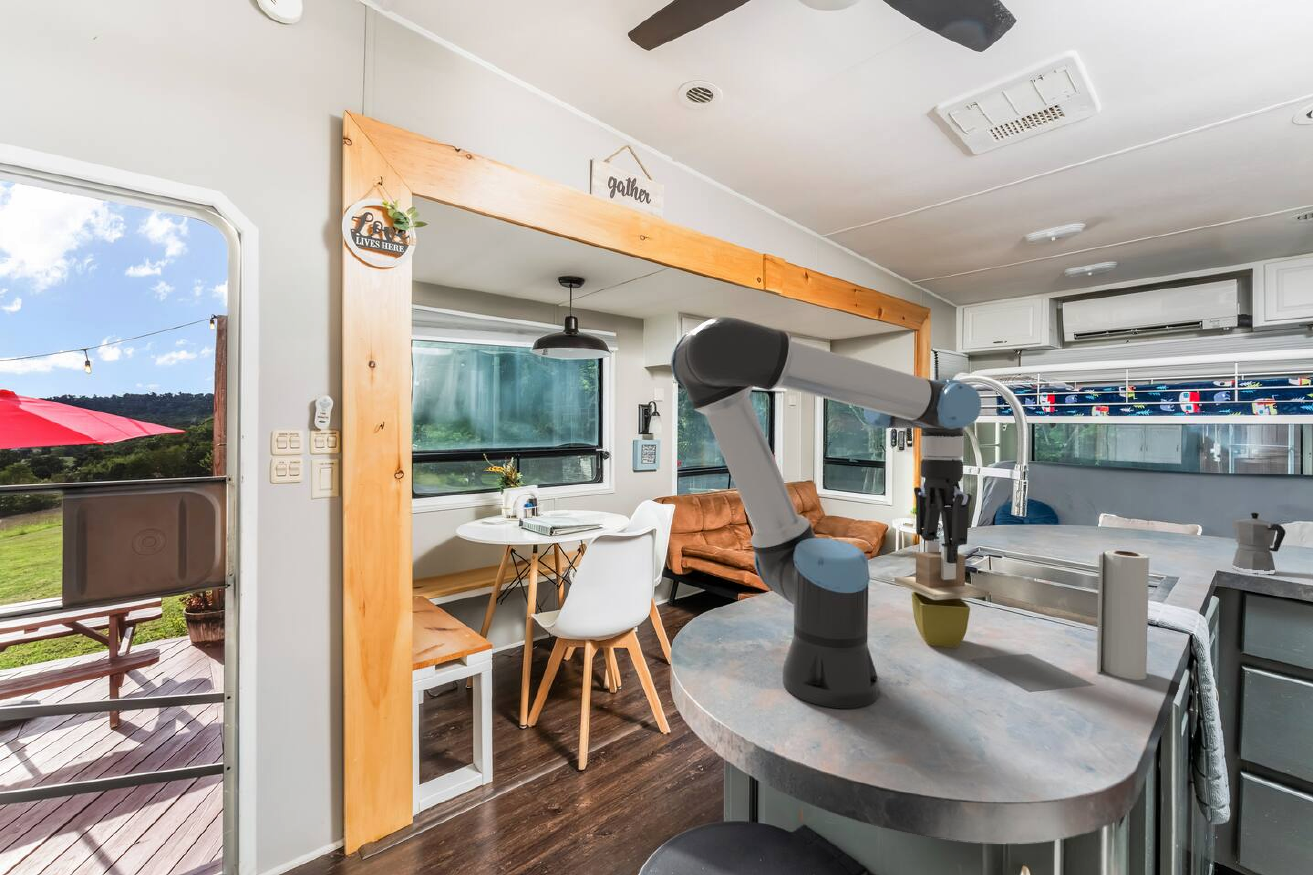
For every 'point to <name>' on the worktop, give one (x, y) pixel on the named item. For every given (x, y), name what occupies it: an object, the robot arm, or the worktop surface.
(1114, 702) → the worktop surface
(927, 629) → the flower pot
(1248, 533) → the coffeepot
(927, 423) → the robot arm
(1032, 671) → the mat
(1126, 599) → the paper towel roll
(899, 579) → the lid
